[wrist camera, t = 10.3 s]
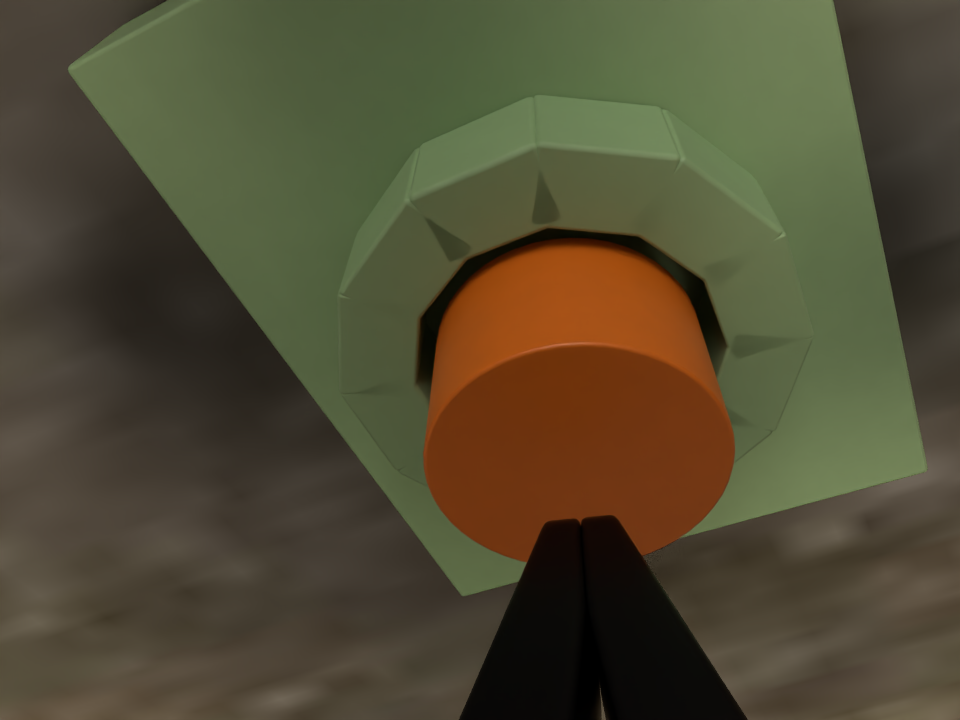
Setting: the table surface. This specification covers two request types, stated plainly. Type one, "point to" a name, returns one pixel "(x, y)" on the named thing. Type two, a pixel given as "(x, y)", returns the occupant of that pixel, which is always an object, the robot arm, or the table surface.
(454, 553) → the green flat block
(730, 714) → the robot arm
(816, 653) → the table surface
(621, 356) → the orange short cylinder
